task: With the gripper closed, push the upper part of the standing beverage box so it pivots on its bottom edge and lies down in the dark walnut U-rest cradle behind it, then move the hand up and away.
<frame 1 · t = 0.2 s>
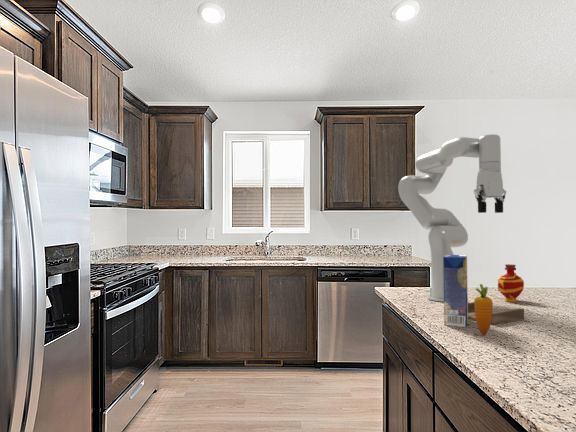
hand: (490, 212, 166), 37 cm above the worktop, tool pointing down, fingers open, 9 cm apart
potion bottle: (510, 301, 184), on the worktop
u rest: (486, 317, 153), on the worktop
beverage box: (456, 322, 146), on the worktop
carrot: (483, 336, 128), on the worktop
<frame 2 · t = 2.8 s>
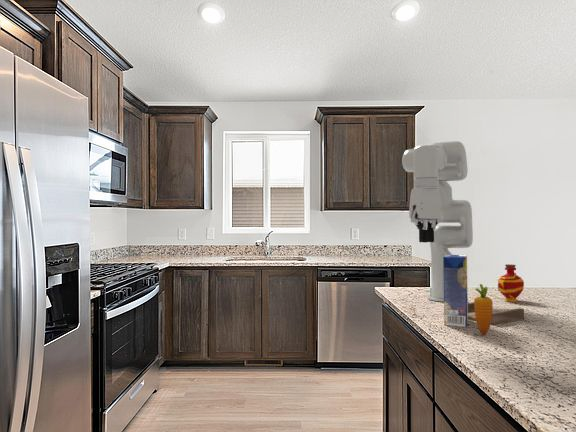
hand: (426, 241, 140), 27 cm above the worktop, tool pointing down, fingers closed
nothing on the worktop moved.
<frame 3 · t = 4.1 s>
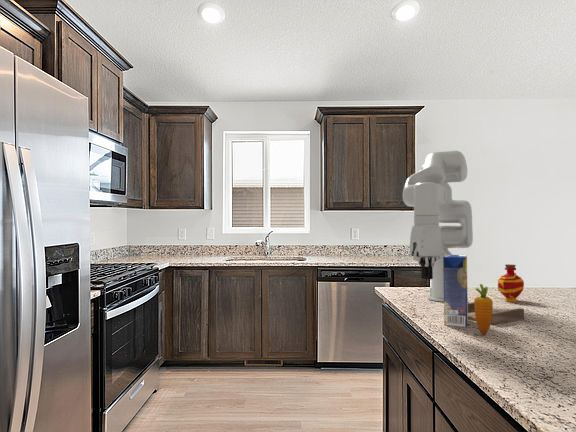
hand: (427, 278, 140), 15 cm above the worktop, tool pointing down, fingers closed
nothing on the worktop moved.
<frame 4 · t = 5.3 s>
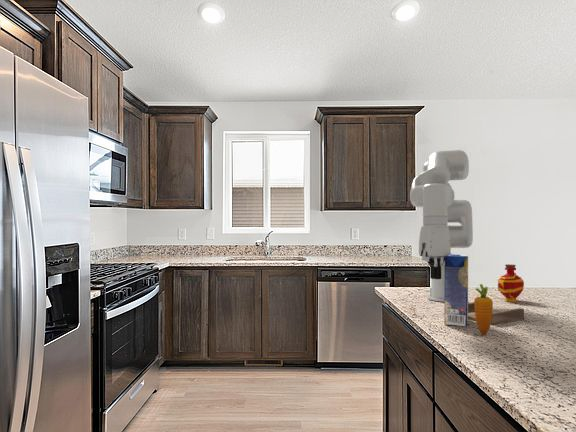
hand: (435, 278, 141), 15 cm above the worktop, tool pointing down, fingers closed
beverage box: (456, 322, 146), on the worktop, touching gripper
everything else where it was.
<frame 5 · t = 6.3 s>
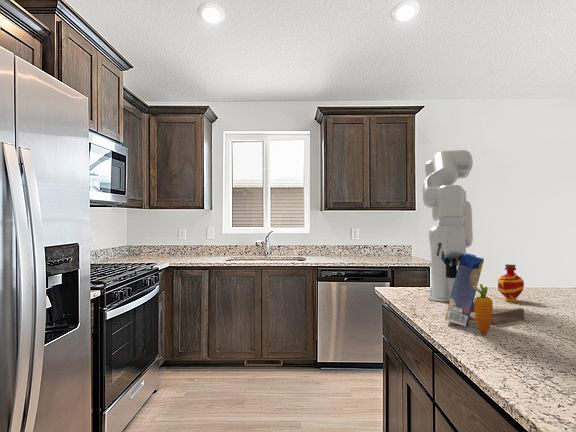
hand: (451, 277, 145), 15 cm above the worktop, tool pointing down, fingers closed
beverage box: (456, 320, 146), point 1 cm above the worktop
everything else where it was.
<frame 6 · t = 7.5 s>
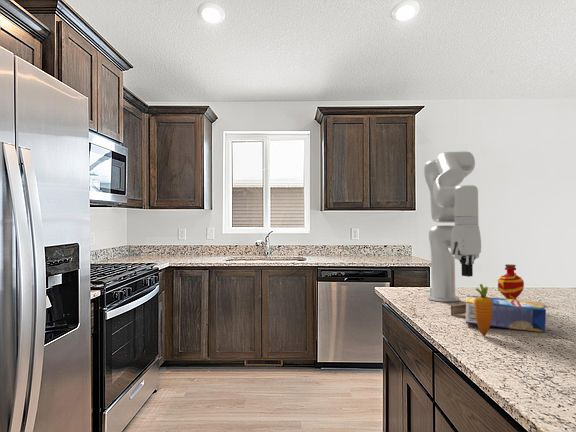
hand: (467, 275, 148), 15 cm above the worktop, tool pointing down, fingers closed
beverage box: (465, 308, 144), point 5 cm above the worktop, touching u rest
everything else where it was.
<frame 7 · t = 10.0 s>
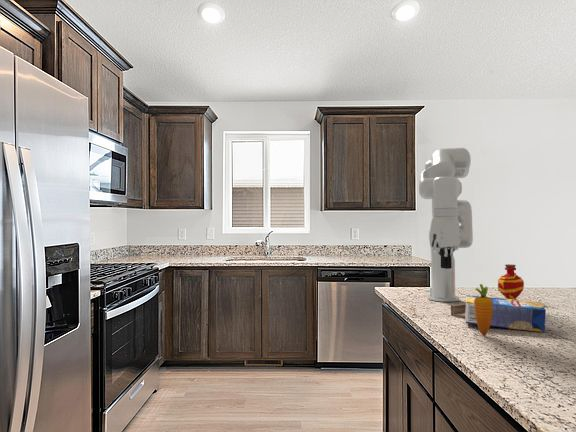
hand: (446, 268, 147), 18 cm above the worktop, tool pointing down, fingers closed
nothing on the worktop moved.
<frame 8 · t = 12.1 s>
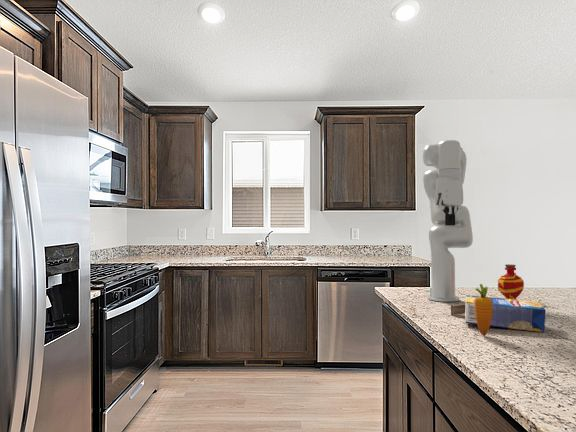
hand: (450, 225, 159), 32 cm above the worktop, tool pointing down, fingers closed
nothing on the worktop moved.
at the end: beverage box tilted 93°; beverage box touching worktop, u rest; beverage box inside the target area (3.4 cm from its centre), point 4.8 cm above the worktop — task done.
